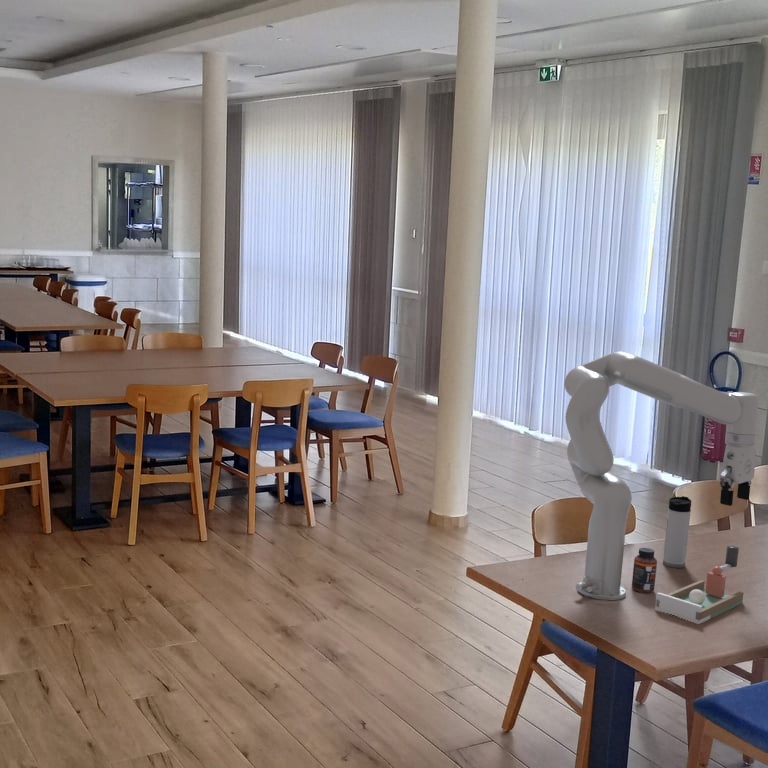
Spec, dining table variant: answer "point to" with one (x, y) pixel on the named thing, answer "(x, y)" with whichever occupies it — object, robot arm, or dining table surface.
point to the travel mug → (677, 532)
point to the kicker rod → (714, 578)
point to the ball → (697, 596)
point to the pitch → (683, 608)
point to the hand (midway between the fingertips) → (734, 501)
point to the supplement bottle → (644, 571)
